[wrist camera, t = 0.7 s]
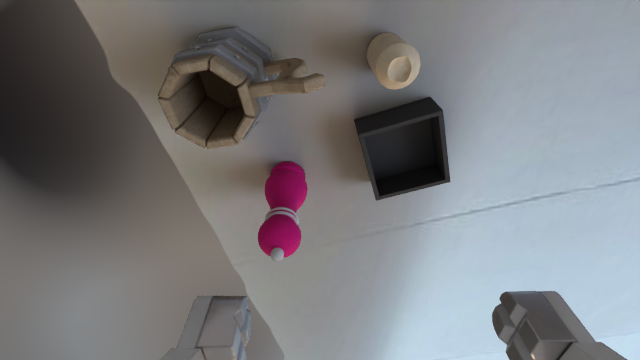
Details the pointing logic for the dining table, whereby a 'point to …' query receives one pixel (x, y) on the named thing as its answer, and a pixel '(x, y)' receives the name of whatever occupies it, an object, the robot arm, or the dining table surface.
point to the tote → (405, 148)
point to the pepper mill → (283, 210)
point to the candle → (393, 60)
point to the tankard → (227, 86)
